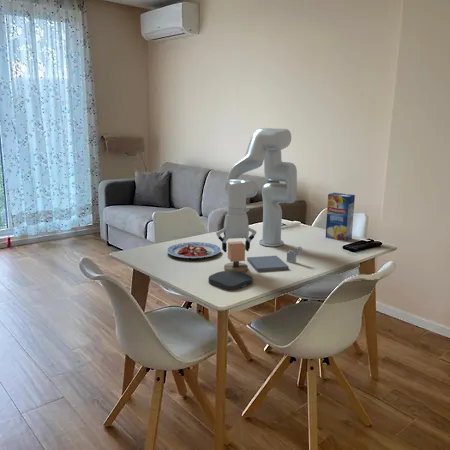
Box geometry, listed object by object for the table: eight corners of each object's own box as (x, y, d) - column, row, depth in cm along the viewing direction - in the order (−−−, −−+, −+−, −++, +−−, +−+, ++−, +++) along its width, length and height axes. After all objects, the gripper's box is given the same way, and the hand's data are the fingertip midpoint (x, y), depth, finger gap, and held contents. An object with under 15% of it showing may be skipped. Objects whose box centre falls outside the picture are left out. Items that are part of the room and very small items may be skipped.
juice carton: (325, 237, 248) (327, 194, 243) (331, 234, 254) (334, 192, 248) (345, 241, 241) (349, 196, 235) (351, 238, 246) (355, 194, 241)
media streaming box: (204, 283, 179) (204, 275, 178) (230, 274, 189) (230, 267, 188) (230, 293, 169) (230, 285, 168) (256, 283, 179) (256, 276, 178)
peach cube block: (227, 257, 196) (227, 241, 194) (241, 256, 197) (241, 241, 195) (230, 261, 190) (231, 245, 188) (244, 260, 191) (245, 244, 190)
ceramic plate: (155, 256, 212) (155, 250, 211) (185, 243, 234) (185, 238, 233) (203, 265, 200) (203, 258, 200) (230, 250, 223) (230, 244, 222)
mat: (247, 260, 207) (247, 257, 206) (276, 258, 210) (276, 255, 209) (257, 271, 192) (257, 268, 191) (288, 269, 195) (288, 266, 194)
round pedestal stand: (222, 266, 198) (222, 243, 196) (244, 264, 200) (244, 242, 198) (227, 273, 189) (227, 249, 186) (250, 272, 191) (250, 248, 188)
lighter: (286, 261, 206) (287, 244, 204) (288, 260, 207) (289, 243, 206) (299, 264, 202) (300, 247, 200) (301, 263, 203) (302, 246, 201)
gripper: (254, 209, 194) (253, 247, 198) (214, 210, 190) (214, 249, 194) (259, 212, 187) (258, 252, 191) (218, 213, 183) (217, 254, 187)
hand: (235, 250), depth 192 cm, fingers open, 9 cm apart
